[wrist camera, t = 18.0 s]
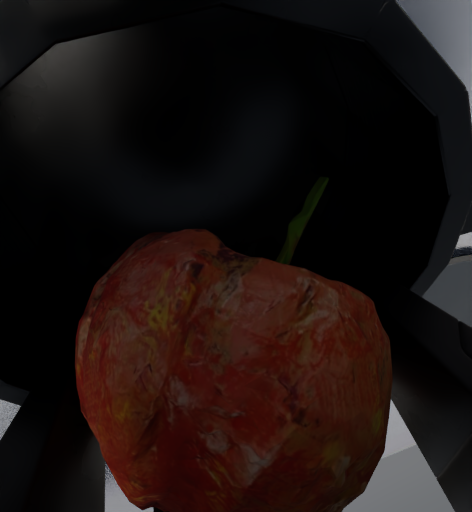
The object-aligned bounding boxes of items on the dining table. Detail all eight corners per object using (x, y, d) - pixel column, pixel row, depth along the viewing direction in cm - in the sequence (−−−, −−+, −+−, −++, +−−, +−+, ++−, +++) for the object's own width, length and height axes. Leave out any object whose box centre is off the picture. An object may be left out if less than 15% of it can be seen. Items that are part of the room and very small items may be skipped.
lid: (478, 353, 33) (527, 414, 29) (311, 403, 33) (338, 472, 29) (557, 219, 23) (652, 286, 19) (310, 288, 22) (354, 374, 18)
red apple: (168, 74, 10) (-104, 437, 7) (498, 51, 5) (43, 990, 3) (278, 227, 15) (141, 463, 13) (485, 285, 11) (327, 666, 8)
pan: (394, 242, 21) (474, 340, 16) (31, 342, 19) (3, 479, 15) (473, -140, 10) (760, -178, 6) (-284, 19, 9) (-697, 135, 5)
